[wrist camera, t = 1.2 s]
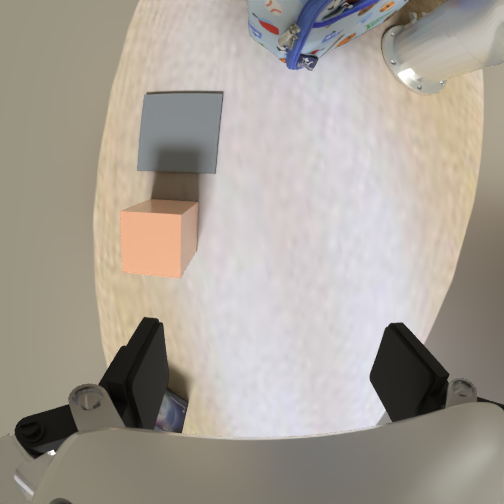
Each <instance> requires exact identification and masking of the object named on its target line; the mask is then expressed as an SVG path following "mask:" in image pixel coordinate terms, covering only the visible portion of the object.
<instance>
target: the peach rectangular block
mask: <svg viewBox="0 0 504 504" xmlns="http://www.w3.org/2000/svg"><path fill="white" fill-rule="evenodd" d="M198 207H199V202H193V201H176V200H157V199H150V200H147V201H145V202H142V203H140V204H137V205H135V206H132V207H130V208H127V209H125V210H122V211H120V220H121V250H122V267H123V272H127V273H135V274H144V275H153V276H162V277H171V278H181V277H182V275H183V273H184V272H185V270H186V268H187V266H188V265H189V263H190V261H191V260H192V258H193V256H194V254H195V253H196V251H197V227H198Z"/></svg>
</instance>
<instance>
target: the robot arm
mask: <svg viewBox="0 0 504 504" xmlns="http://www.w3.org/2000/svg"><path fill="white" fill-rule="evenodd" d="M419 15H420V19H419V20H418V18H417V14H416V13H414V12H410V13H409V17H410V23H408V24H407V25H406V26H405V25H398V26H394V27H392V28H391V29H389V30H388V31H387V32H386V33H385V35H384V37H383V39H382V52H383V57H384V59H385V62H386V64H387V66H388V67H389V69H390V71H391V72H392V73H393V75H394V76H395V77H396V78H397V79H398V80H399V81H400V82H401V83H402V84H403V85H404V86H405V87H407V88H408V89H410V90H412V91H414V92H416V93H418V94H423V95H431V94H435V93H438V92H440V91H441V90H442V89H443V88H444V86H445V85H446V82H447V79H450V78H453V77H456V76H459V75H463V74H466V73H469V72H473V71H476V70H480V69H484V68H487V67H491V66H495V65H499V64H502V63H504V0H447V1H446V2H444V3H443V4H441V5H440V6H438V7H437V8H435V9H434V10H432V11H431V12H429V13H426V12H421V13H420V14H419ZM448 377H449V373H448V372H447V371H446V370H445V369H444V367H443V366H442V365H441V364H440V363H439V362H438V361H437V360H436V358H435V357H434V356H433V355H432V354H431V353H430V352H429V351H428V349H427V348H426V347H425V346H424V345H423V344H422V343H421V342H420V341H419V340H418V339H417V337H416V336H415V335H414V334H413V333H412V332H411V331H410V330H409V329H408V328H407V327H406V326H405V325H404V324H403V323H390V324H389V325H388V327H386V328H385V331H384V334H383V337H382V340H381V343H380V347H379V350H378V353H377V356H376V359H375V361H374V364H373V367H372V370H371V373H370V381H371V383H372V385H373V387H374V389H375V391H376V392H377V394H378V396H379V398H380V400H381V402H382V404H383V405H384V407H385V409H386V411H387V413H388V415H389V417H390V419H391V420H392V423H388V424H382V425H378V426H372V427H367V428H361V429H355V430H349V431H342V432H334V433H325V434H316V435H304V436H288V437H222V436H206V435H193V434H183V433H174V432H166V431H157V430H154V428H155V424H156V421H157V417H158V414H159V411H160V407H161V404H162V401H163V397H164V394H165V391H166V388H167V384H168V381H169V370H168V362H167V354H166V346H165V337H164V327H163V323H162V322H159V320H158V319H157V318H148V317H144V318H143V319H142V321H141V322H140V324H139V326H138V327H137V329H136V331H135V332H134V334H133V335H132V337H131V339H130V340H129V342H128V344H127V345H126V346H122V347H121V348H120V349H119V351H118V353H117V354H116V356H115V357H114V359H113V361H112V362H111V364H110V366H109V367H108V369H107V371H106V373H105V374H104V376H103V378H102V379H101V381H100V383H99V384H98V385H96V384H83V385H81V386H78V387H76V388H75V389H73V390H72V392H71V393H70V395H69V398H68V400H69V404H68V405H65V406H61V407H58V408H55V409H52V410H48V411H45V412H41V413H38V414H34V415H31V416H27V417H25V418H23V419H21V420H20V421H19V422H18V424H17V425H16V428H15V434H14V435H12V436H10V434H6V435H5V436H3V437H1V438H0V504H504V405H502V404H499V403H496V402H493V401H489V400H486V399H483V398H479V397H477V389H476V387H475V386H474V384H473V383H472V382H470V381H468V380H467V379H464V378H454V379H452V380H451V381H450V382H448V381H447V379H448Z"/></svg>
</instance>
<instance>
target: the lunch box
mask: <svg viewBox="0 0 504 504" xmlns="http://www.w3.org/2000/svg"><path fill="white" fill-rule="evenodd" d="M408 1H409V0H247V5H248V25H249V33H250V36H251V37H252V38H253V39H254V40H255V41H257V42H258V43H259V44H261V45H262V46H264V47H265V48H266V49H268V50H269V51H270V52H272V53H273V54H274V55H275V56H276V57H278V58H279V59H280V60H281V61H282V62H284V63H286V64H287V67H288V68H289V69H292V70H295V69H296V70H297V69H301V68H303V67H306V68H307V69H308V70H310V71H312V70H313V68H314V67H315V65H316V63H317V61H318V58H320V57H321V56H323V55H324V54H326V53H328V52H330V51H331V50H333V49H335V48H337V47H339V46H341V45H342V44H344V43H346V42H348V41H350V40H352V39H354V38H356V37H358V36H360V35H361V34H363V33H364V32H366V31H368V30H370V29H372V28H374V27H375V26H377V25H379V24H381V23H383V22H385V21H386V20H388V19H389V18H390V17H391V16H393V15H394V14H395V13H396V12H397V11H398V10H399V9H400V8H401V7H402V6H404V5H405V4H406V3H407V2H408Z"/></svg>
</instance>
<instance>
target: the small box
mask: <svg viewBox="0 0 504 504" xmlns="http://www.w3.org/2000/svg"><path fill="white" fill-rule="evenodd" d="M187 407H188V402H187V401H185V400H184V399H182V398H181V397H179V396H178V395H176V394H175V393H174V392H172V391H171V390H170V389H168V388H166V391H165V394H164V397H163V401H162V404H161V407H160V411H159V414H158V417H157V421H156V424H155V428H154V430H157V431H166V432H174V433H182V430H183V425H184V420H185V416H186V412H187Z"/></svg>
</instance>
